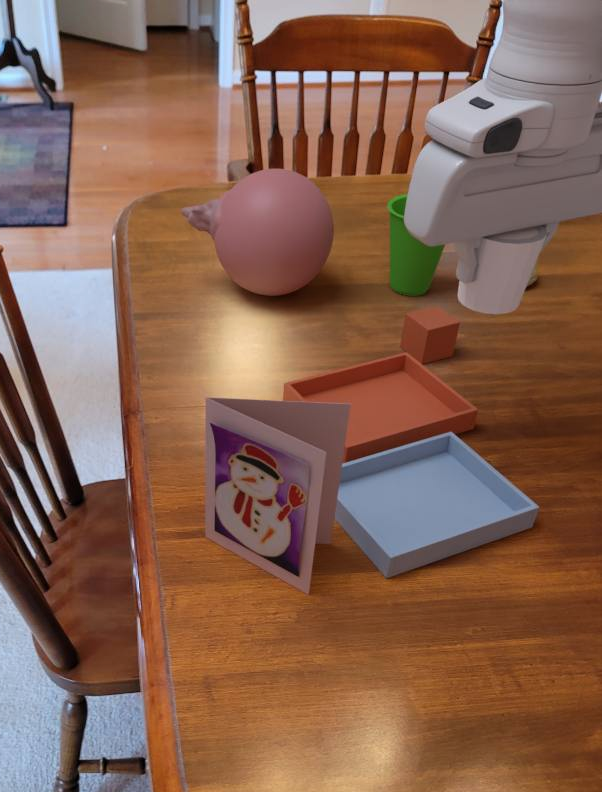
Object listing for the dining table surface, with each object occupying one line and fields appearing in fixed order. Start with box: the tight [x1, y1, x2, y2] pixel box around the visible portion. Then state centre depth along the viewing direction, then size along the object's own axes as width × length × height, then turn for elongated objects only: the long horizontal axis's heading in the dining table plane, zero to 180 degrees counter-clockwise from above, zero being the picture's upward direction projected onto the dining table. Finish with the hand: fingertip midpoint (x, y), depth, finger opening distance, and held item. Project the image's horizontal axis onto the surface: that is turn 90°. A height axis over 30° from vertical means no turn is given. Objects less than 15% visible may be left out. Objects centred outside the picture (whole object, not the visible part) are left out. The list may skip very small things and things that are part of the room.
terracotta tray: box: [282, 351, 479, 464], centre depth 90 cm, size 16×13×2 cm
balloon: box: [181, 168, 335, 297], centre depth 108 cm, size 15×20×15 cm
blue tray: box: [334, 432, 540, 579], centre depth 78 cm, size 16×13×2 cm
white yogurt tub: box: [457, 225, 547, 315], centre depth 76 cm, size 7×7×7 cm
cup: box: [386, 193, 446, 297], centre depth 109 cm, size 9×9×11 cm
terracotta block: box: [399, 305, 461, 365], centre depth 99 cm, size 4×4×4 cm
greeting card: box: [204, 396, 351, 596], centre depth 70 cm, size 11×7×15 cm, turn 50°
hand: (494, 273), depth 76 cm, fingers closed on white yogurt tub, 5 cm apart
